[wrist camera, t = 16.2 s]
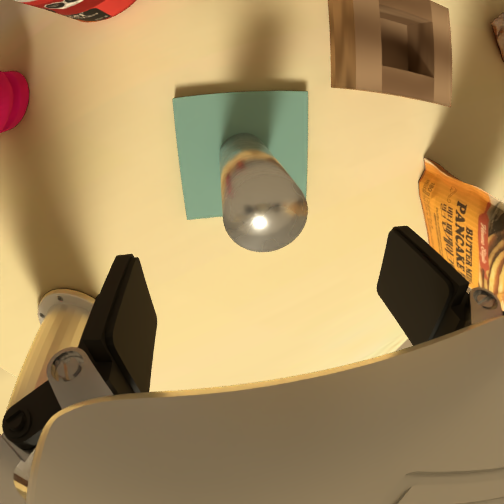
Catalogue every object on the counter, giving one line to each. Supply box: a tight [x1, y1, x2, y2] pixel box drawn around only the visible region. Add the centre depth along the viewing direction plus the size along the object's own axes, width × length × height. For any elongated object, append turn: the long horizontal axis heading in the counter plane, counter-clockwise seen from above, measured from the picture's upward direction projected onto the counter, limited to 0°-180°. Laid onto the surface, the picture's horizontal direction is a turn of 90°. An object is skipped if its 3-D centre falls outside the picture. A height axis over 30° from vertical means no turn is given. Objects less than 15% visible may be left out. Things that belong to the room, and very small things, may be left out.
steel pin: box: [219, 133, 308, 252], centre depth 19 cm, size 4×4×12 cm
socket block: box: [328, 0, 452, 107], centre depth 17 cm, size 10×10×5 cm
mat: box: [173, 91, 308, 220], centre depth 24 cm, size 11×11×1 cm
